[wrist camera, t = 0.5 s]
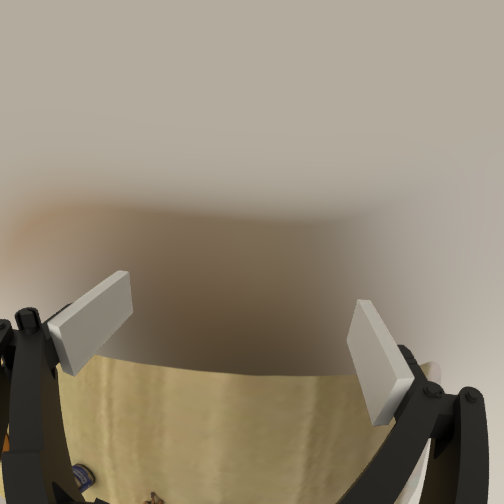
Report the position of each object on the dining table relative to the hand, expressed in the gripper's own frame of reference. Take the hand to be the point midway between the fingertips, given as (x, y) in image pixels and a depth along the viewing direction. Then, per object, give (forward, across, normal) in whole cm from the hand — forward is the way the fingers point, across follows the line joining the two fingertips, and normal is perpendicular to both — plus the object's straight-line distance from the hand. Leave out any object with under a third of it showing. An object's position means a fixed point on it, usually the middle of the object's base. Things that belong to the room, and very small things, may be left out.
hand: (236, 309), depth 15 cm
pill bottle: (+4, +33, +54) cm, 64 cm away
